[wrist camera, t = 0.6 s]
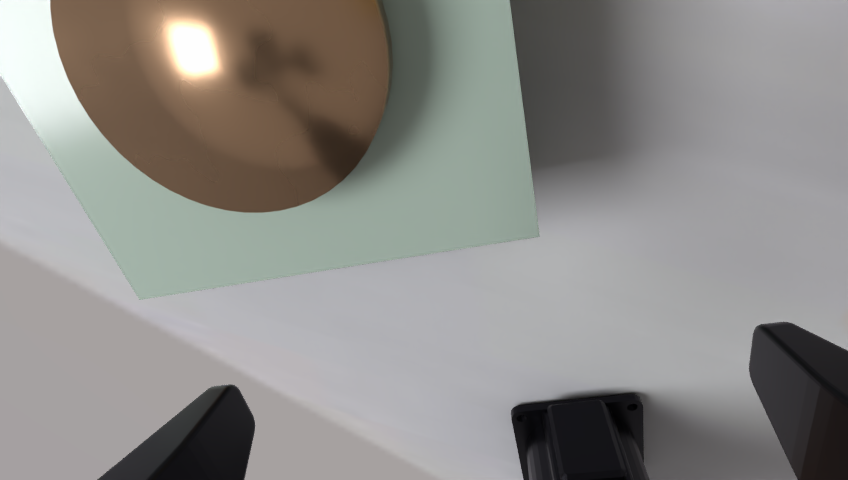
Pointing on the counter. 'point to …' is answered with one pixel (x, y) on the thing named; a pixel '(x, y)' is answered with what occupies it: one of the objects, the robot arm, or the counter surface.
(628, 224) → the counter surface
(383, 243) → the base
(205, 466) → the robot arm
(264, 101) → the copper round dome
